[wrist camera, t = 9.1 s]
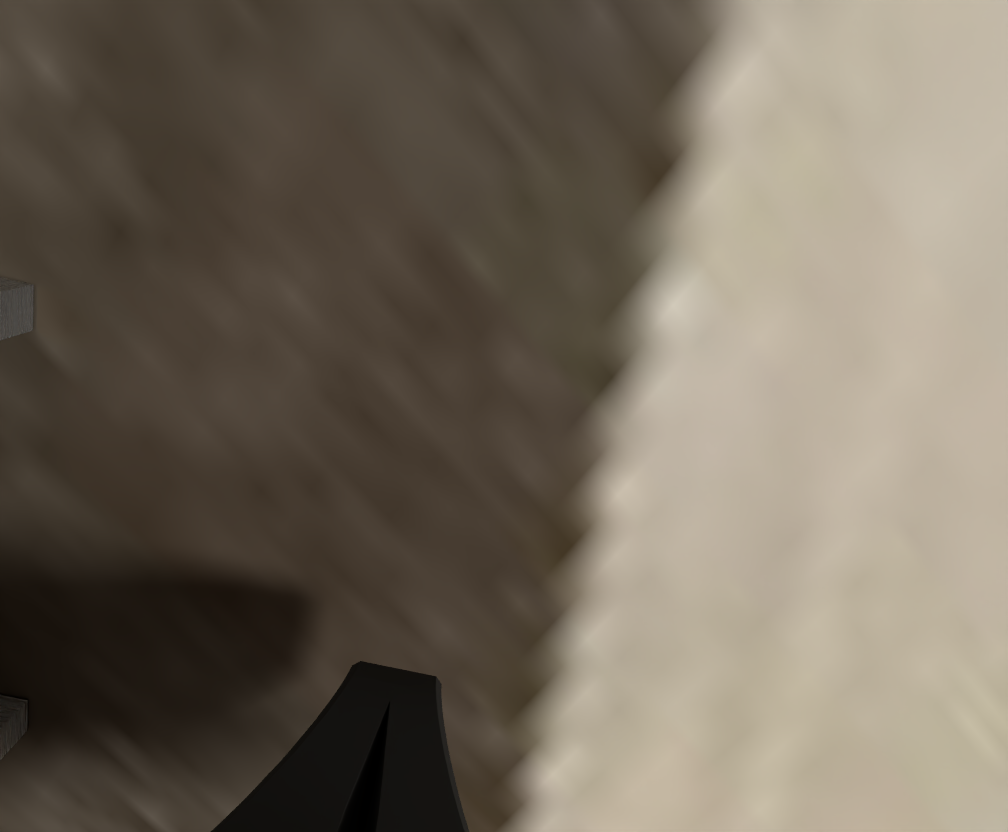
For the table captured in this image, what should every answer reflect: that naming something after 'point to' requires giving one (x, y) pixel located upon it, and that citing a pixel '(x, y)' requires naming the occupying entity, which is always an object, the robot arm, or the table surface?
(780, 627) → the table surface
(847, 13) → the table surface
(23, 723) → the frame
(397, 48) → the table surface
